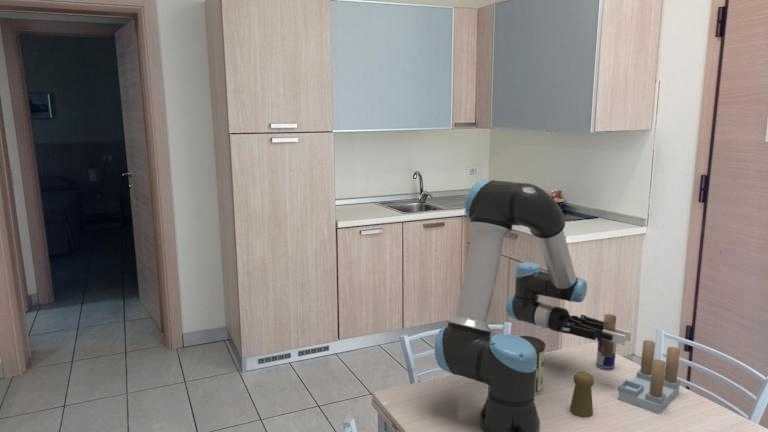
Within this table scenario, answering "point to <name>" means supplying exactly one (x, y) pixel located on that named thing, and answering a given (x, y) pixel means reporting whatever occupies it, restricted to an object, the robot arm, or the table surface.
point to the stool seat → (653, 380)
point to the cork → (582, 395)
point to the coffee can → (538, 361)
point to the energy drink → (605, 358)
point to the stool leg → (610, 326)
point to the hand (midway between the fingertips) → (627, 338)
